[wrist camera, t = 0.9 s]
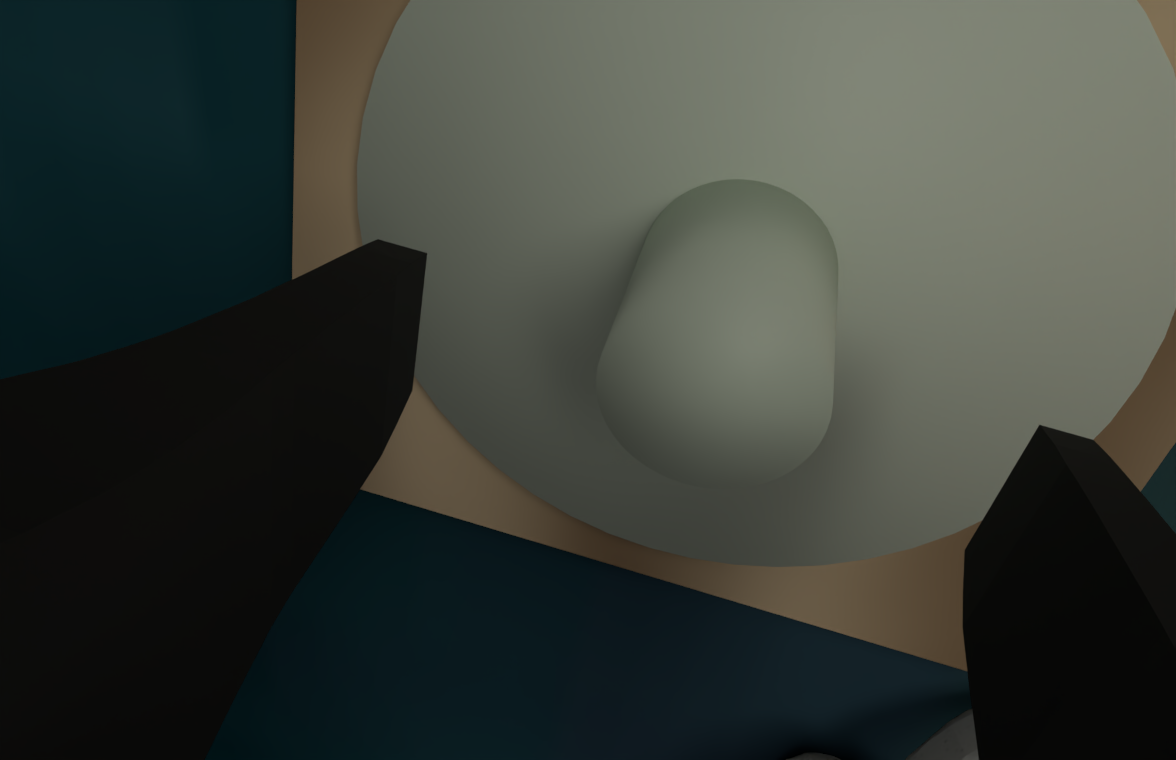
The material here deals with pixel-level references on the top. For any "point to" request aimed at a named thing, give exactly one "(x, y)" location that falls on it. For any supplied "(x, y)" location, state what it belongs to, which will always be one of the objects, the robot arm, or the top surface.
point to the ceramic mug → (935, 743)
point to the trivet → (492, 499)
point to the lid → (776, 251)
